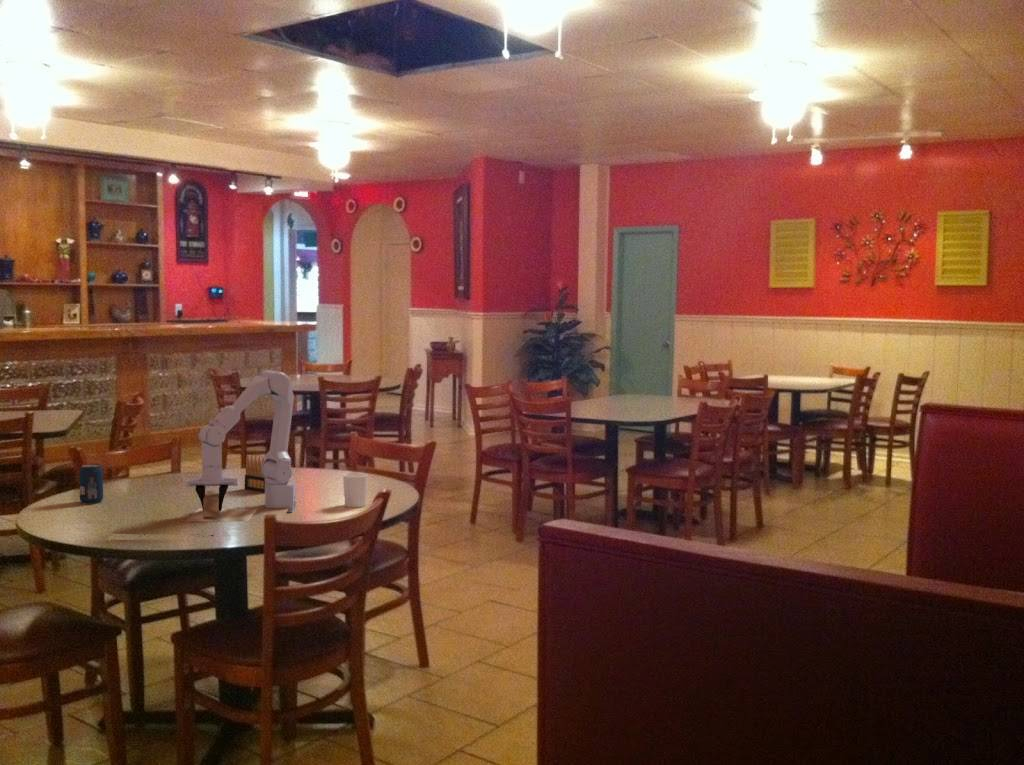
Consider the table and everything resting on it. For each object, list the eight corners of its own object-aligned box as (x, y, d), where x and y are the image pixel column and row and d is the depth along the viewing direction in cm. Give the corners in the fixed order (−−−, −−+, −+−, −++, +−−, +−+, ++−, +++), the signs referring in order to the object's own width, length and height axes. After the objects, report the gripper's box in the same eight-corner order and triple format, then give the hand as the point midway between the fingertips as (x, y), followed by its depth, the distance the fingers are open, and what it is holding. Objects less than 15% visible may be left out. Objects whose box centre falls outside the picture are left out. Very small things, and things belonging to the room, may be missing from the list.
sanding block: (221, 509, 310) (220, 490, 309) (217, 518, 298) (217, 498, 298) (207, 510, 309) (207, 490, 308) (203, 519, 297) (203, 499, 297)
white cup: (371, 503, 329) (371, 473, 328) (361, 509, 321) (361, 478, 320) (349, 501, 331) (349, 471, 330) (338, 507, 324) (338, 476, 323)
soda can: (94, 498, 328) (93, 462, 327) (108, 501, 324) (107, 464, 323) (75, 502, 322) (74, 465, 321) (89, 505, 318) (88, 468, 317)
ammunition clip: (271, 492, 344) (271, 457, 342) (267, 493, 342) (267, 458, 341) (248, 488, 349) (247, 454, 348) (244, 489, 347) (244, 454, 346)
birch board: (257, 513, 312) (257, 508, 312) (248, 526, 296) (247, 521, 296) (198, 513, 311) (198, 508, 311) (185, 525, 295) (185, 520, 295)
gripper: (237, 462, 307) (238, 506, 308) (188, 463, 304) (188, 507, 306) (236, 466, 300) (236, 511, 302) (185, 467, 297) (186, 512, 299)
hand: (212, 509), depth 303 cm, fingers closed on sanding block, 4 cm apart
